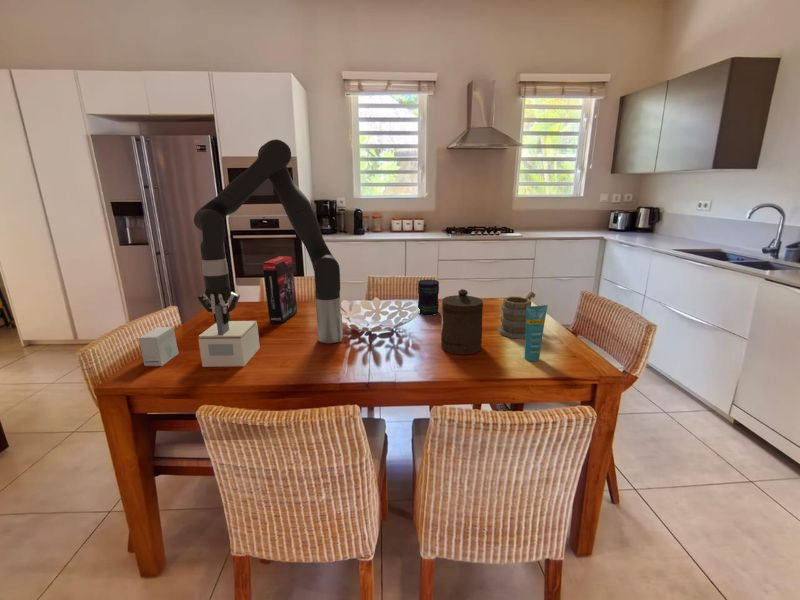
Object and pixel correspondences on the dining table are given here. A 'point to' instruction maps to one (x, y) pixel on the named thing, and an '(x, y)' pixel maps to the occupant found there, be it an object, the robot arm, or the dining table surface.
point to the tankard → (514, 316)
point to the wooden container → (461, 324)
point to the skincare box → (158, 346)
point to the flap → (226, 326)
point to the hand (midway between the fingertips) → (222, 323)
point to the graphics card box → (280, 288)
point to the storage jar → (428, 296)
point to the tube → (534, 331)
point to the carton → (229, 349)
